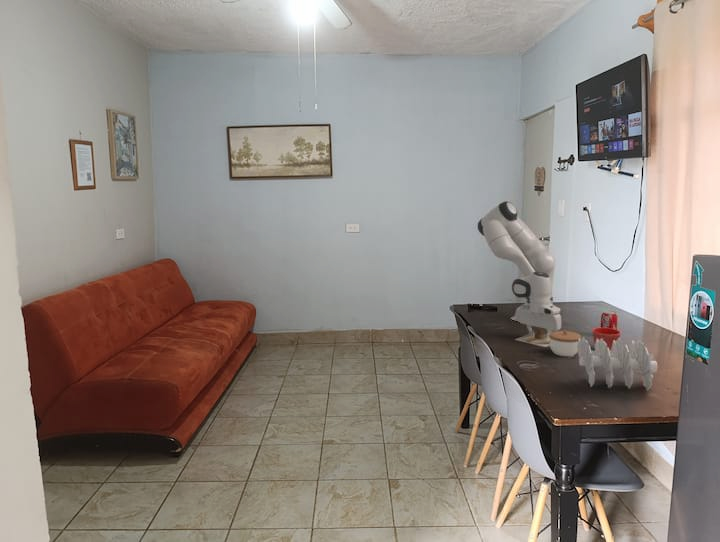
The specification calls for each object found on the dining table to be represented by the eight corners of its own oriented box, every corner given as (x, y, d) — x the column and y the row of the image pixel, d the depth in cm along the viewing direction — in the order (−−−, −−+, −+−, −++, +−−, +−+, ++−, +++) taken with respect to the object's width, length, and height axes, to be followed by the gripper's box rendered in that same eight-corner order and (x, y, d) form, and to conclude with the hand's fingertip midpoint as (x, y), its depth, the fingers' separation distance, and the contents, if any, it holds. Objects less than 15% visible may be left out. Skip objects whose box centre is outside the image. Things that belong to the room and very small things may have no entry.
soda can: (618, 339, 239) (619, 314, 237) (602, 338, 241) (603, 313, 239) (614, 334, 246) (615, 310, 244) (598, 334, 247) (599, 310, 245)
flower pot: (608, 358, 213) (609, 335, 212) (586, 351, 223) (587, 329, 222) (625, 353, 218) (626, 331, 217) (602, 347, 228) (603, 326, 226)
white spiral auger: (655, 403, 178) (579, 395, 183) (643, 367, 192) (572, 360, 197) (670, 366, 168) (589, 359, 173) (656, 330, 182) (581, 325, 187)
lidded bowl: (584, 354, 219) (585, 329, 217) (573, 362, 210) (574, 336, 208) (555, 349, 227) (556, 325, 225) (543, 356, 218) (544, 331, 216)
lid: (517, 339, 239) (517, 330, 238) (534, 333, 248) (534, 324, 247) (544, 346, 228) (545, 336, 228) (561, 339, 237) (561, 330, 237)
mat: (514, 341, 240) (514, 339, 239) (533, 334, 249) (533, 332, 249) (545, 349, 227) (545, 347, 227) (564, 341, 237) (564, 339, 237)
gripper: (516, 304, 242) (515, 332, 244) (556, 312, 226) (555, 342, 228) (524, 302, 246) (523, 330, 248) (563, 309, 230) (562, 339, 232)
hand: (538, 336), depth 238 cm, fingers open, 7 cm apart
